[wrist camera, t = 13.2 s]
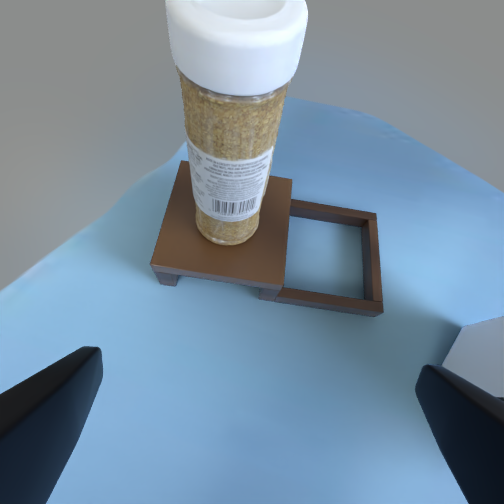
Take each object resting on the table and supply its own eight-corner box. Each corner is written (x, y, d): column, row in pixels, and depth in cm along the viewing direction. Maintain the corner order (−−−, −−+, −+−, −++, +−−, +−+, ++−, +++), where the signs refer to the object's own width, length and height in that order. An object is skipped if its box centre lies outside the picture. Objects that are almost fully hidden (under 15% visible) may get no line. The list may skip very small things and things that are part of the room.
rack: (374, 317, 23) (403, 304, 20) (160, 284, 23) (149, 264, 19) (368, 221, 27) (391, 196, 24) (185, 191, 27) (181, 159, 23)
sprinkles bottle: (261, 200, 22) (315, -29, 10) (253, 253, 20) (307, 49, 8) (202, 189, 22) (183, -57, 10) (187, 242, 20) (142, 16, 8)
